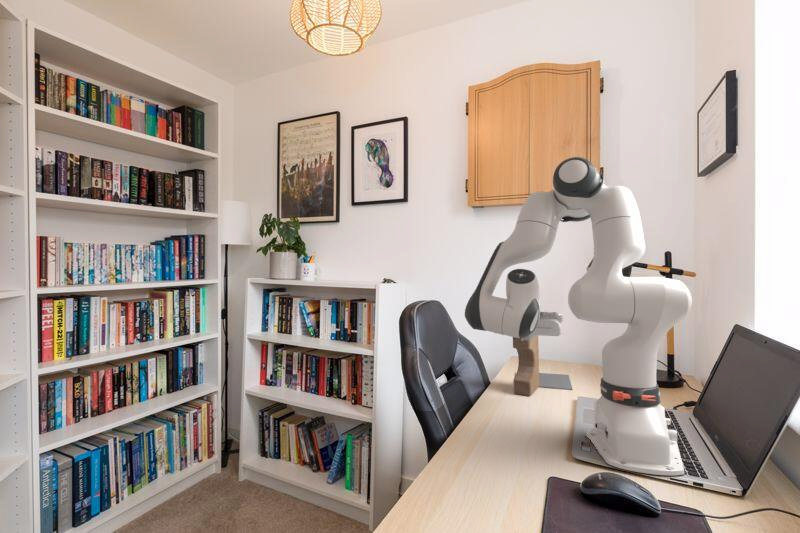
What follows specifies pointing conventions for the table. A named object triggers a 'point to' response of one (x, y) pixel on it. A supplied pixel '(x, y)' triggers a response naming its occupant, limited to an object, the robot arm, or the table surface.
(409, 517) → the table surface
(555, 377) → the felt pad
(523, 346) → the decorative block
